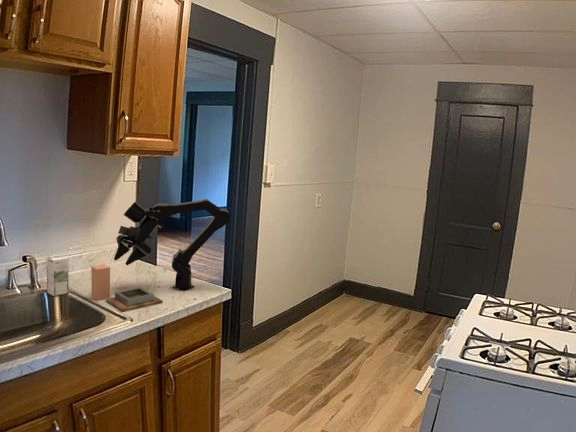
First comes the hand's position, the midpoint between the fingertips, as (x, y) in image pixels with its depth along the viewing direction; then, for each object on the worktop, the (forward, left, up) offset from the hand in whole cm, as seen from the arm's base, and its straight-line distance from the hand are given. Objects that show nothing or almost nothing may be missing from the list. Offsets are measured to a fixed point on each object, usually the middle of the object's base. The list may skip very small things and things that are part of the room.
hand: (120, 262), depth 179 cm
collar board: (+3, +10, -13) cm, 17 cm away
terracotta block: (+6, -4, -13) cm, 15 cm away
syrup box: (+12, -20, -13) cm, 27 cm away
